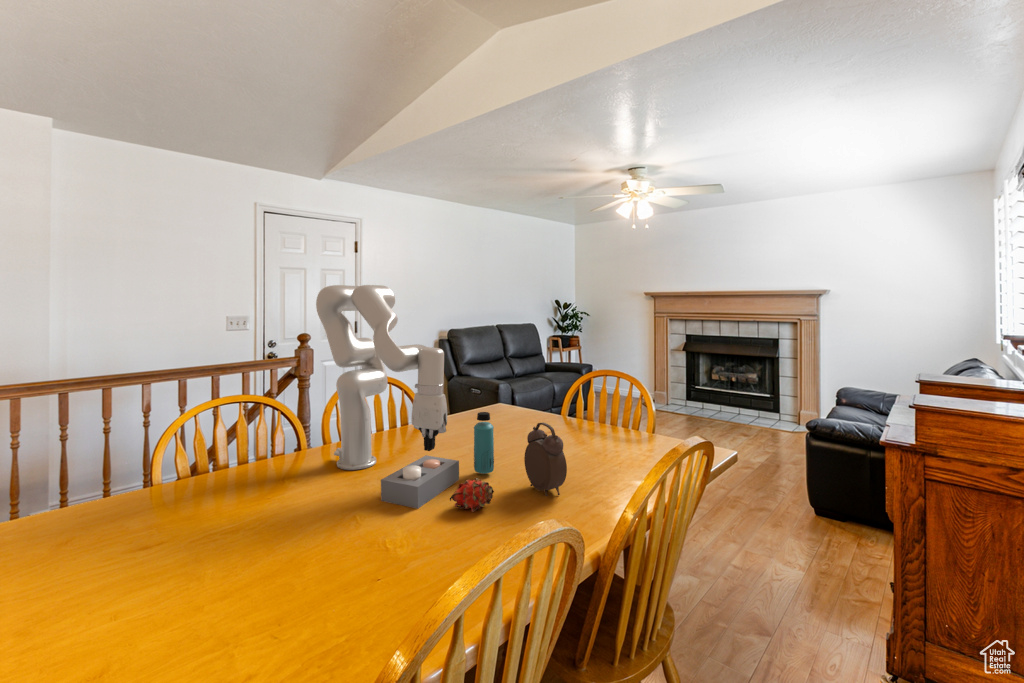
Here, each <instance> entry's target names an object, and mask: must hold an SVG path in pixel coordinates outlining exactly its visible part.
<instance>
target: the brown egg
mask: <svg viewBox="0 0 1024 683" xmlns="http://www.w3.org/2000/svg"><path fill="white" fill-rule="evenodd" d="M439 466H440V461H439V460H435V459H430V460H426V461H424V462H423V467H427V468H432V469H435V468H437V467H439Z"/></svg>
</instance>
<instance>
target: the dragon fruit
mask: <svg viewBox="0 0 1024 683" xmlns="http://www.w3.org/2000/svg"><path fill="white" fill-rule="evenodd" d="M494 492H495V490H494V488H493V487H492V486H491V485H490V483H489V482H486V481H482V480H481V479H480V478H477V477H476V478H475V479H466V480H465V481H464V482H462V483H459V484H458V487H457V488H456V490H455V491H454V492H453V494H452V495H451V496H450V497H449V501H450V502H451V501H453V502H455V503H454V507H455V508H457V509H464V510H468V509H471V512H472V513H473V512H475V511H477V510H480V509H483V507H484V506H485V505H490V504H491V502H492V499H493V497H494V495H493V494H494Z"/></svg>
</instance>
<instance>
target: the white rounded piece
mask: <svg viewBox="0 0 1024 683" xmlns="http://www.w3.org/2000/svg"><path fill="white" fill-rule="evenodd" d="M406 466H407V465H406ZM402 468H403V467H402ZM419 478H421V467H420V466H415V465H413V466H407V467H405V466H404V468H403V479H407V480H412V481H416V480H417V479H419Z"/></svg>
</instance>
